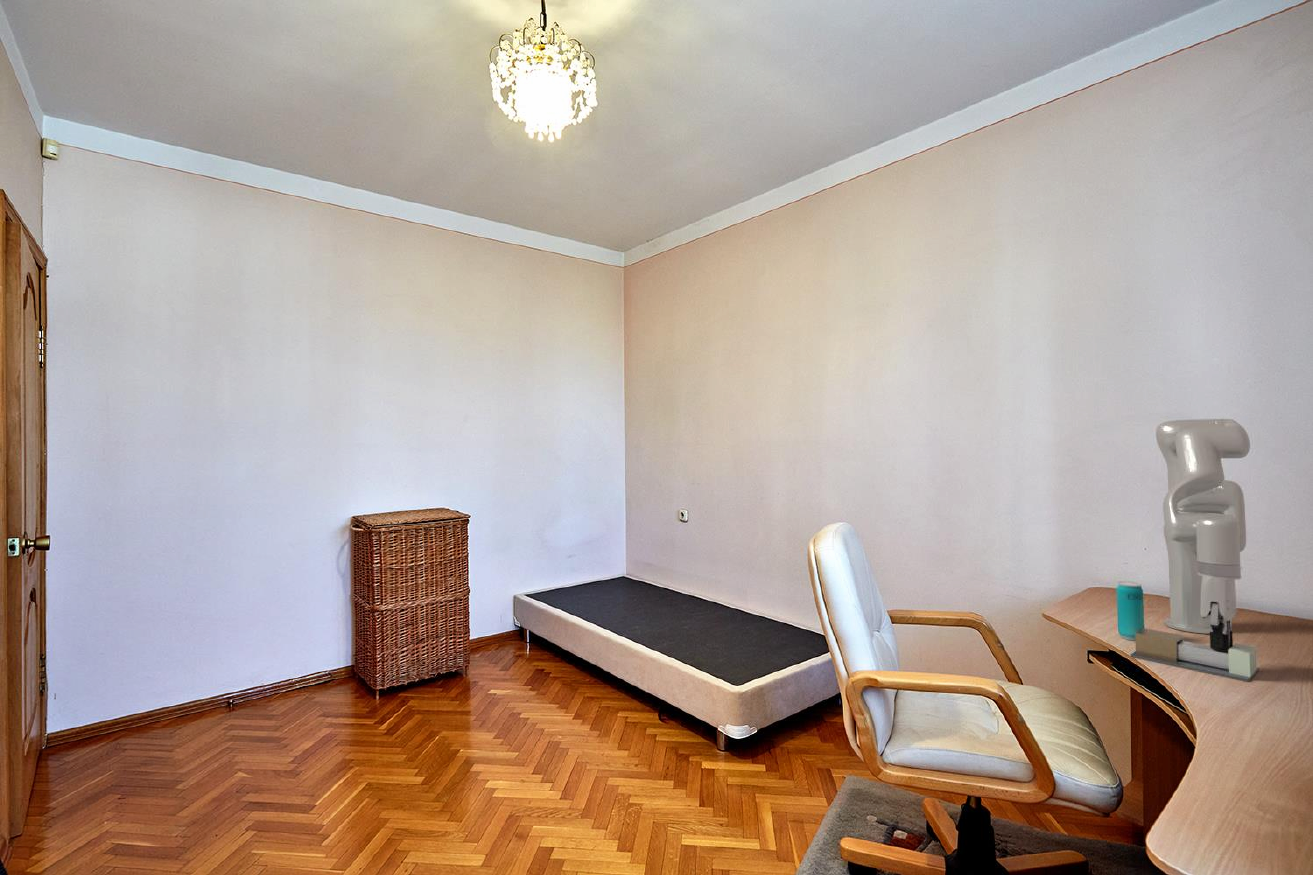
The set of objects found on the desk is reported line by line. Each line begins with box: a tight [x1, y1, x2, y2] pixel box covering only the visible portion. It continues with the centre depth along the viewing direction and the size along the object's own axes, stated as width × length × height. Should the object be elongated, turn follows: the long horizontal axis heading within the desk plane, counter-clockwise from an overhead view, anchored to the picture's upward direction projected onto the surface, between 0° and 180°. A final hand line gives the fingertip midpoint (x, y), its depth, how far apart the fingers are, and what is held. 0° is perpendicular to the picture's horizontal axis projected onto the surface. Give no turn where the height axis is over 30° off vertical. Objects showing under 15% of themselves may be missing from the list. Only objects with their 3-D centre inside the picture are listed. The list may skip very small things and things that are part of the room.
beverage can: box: [1116, 581, 1145, 642], centre depth 167 cm, size 6×6×15 cm
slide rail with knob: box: [1130, 627, 1259, 683], centre depth 148 cm, size 11×22×6 cm, turn 37°
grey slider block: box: [1177, 623, 1231, 669], centre depth 146 cm, size 4×14×10 cm, turn 37°
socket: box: [1228, 643, 1258, 677], centre depth 141 cm, size 7×4×5 cm, turn 127°
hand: (1221, 647), depth 143 cm, fingers closed on grey slider block, 3 cm apart
